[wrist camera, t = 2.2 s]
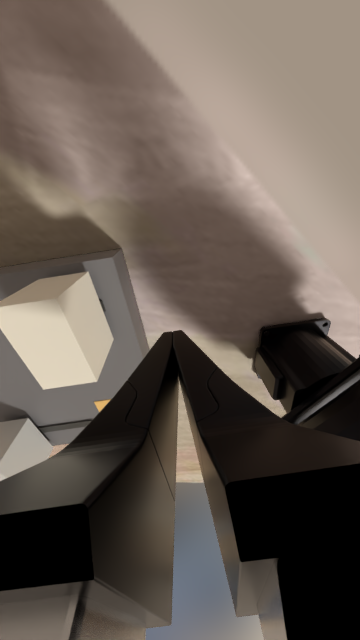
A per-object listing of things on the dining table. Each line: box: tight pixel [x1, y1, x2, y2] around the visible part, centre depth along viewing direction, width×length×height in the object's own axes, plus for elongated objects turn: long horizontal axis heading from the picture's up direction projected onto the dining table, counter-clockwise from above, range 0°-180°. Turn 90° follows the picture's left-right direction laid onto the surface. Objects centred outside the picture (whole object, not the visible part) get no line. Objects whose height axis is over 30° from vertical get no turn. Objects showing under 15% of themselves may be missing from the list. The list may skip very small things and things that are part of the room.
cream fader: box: [0, 272, 114, 390], centre depth 11 cm, size 3×5×4 cm, turn 8°
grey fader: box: [0, 418, 53, 481], centre depth 17 cm, size 3×5×4 cm, turn 8°
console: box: [0, 248, 150, 446], centre depth 18 cm, size 16×18×3 cm
